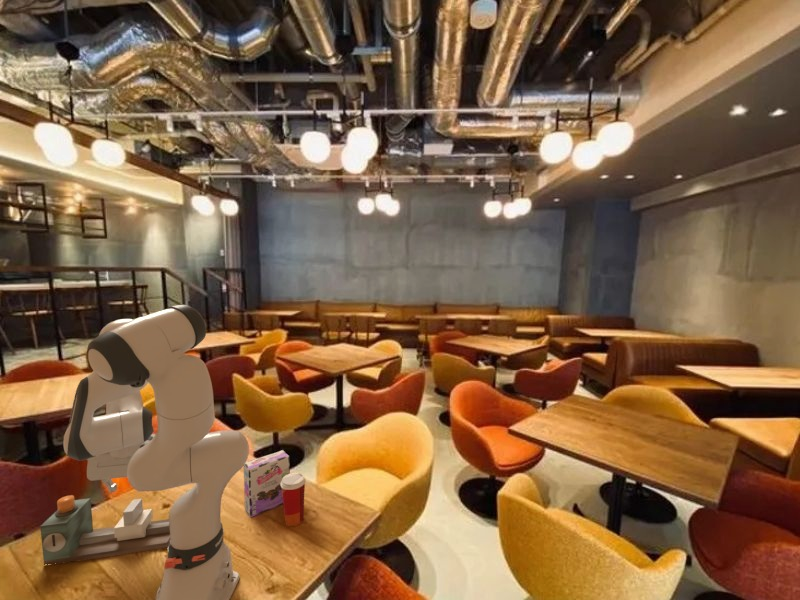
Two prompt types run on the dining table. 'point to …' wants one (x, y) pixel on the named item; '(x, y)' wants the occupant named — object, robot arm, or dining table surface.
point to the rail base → (118, 546)
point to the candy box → (265, 482)
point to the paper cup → (293, 498)
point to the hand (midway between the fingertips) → (131, 488)
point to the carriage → (133, 521)
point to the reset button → (66, 504)
